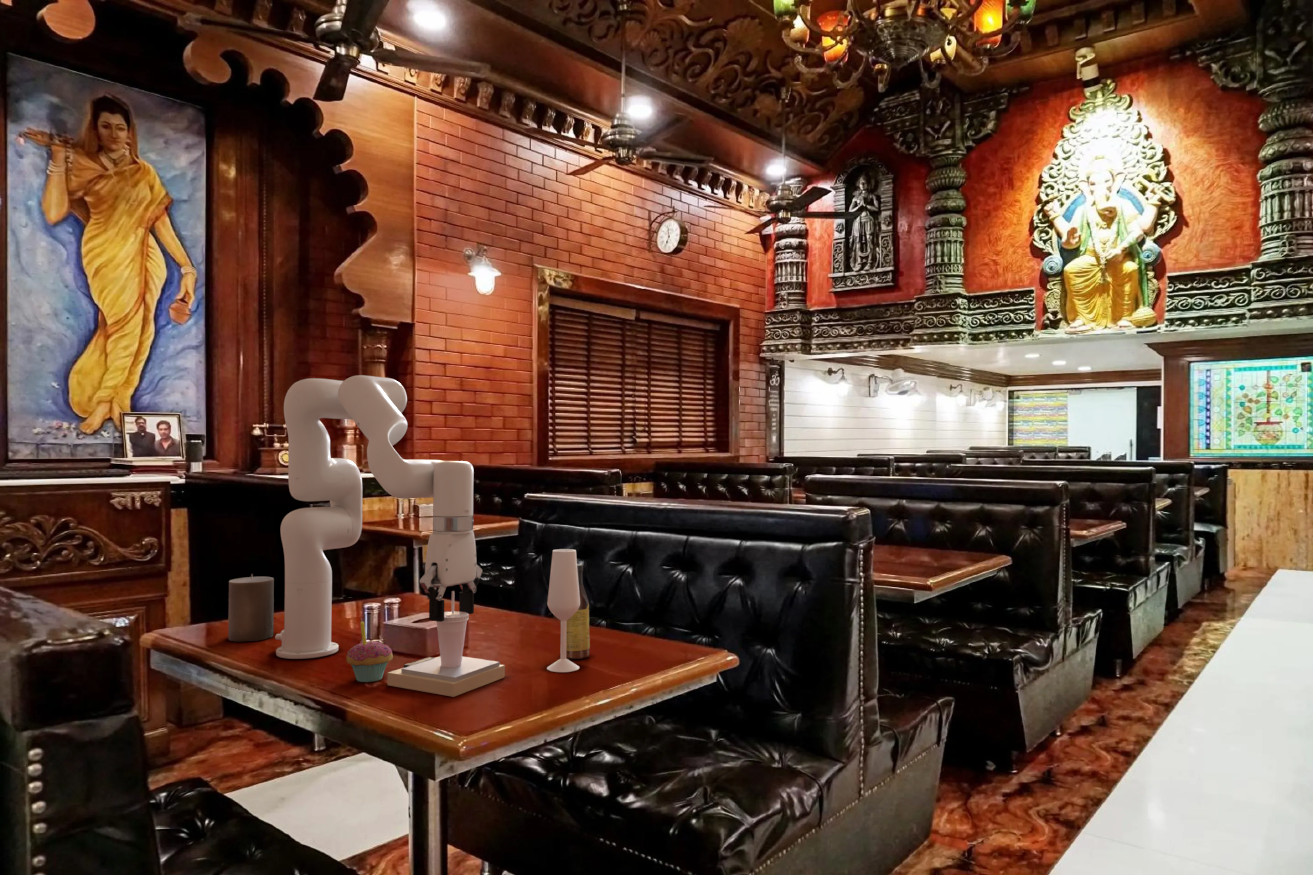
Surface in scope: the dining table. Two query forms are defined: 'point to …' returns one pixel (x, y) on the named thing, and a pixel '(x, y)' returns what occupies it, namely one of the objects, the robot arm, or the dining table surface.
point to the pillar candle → (251, 609)
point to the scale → (446, 675)
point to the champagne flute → (563, 599)
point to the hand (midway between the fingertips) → (451, 616)
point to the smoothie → (452, 636)
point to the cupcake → (369, 659)
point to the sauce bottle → (578, 626)
